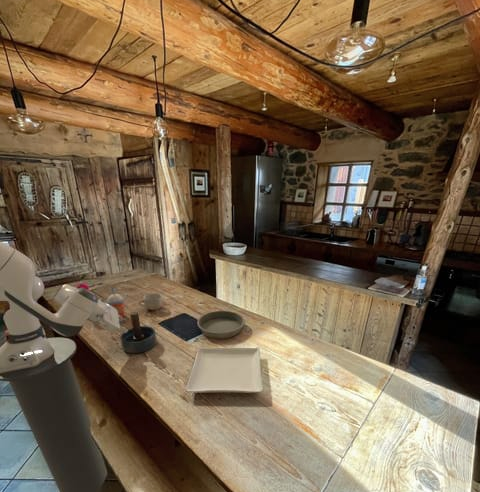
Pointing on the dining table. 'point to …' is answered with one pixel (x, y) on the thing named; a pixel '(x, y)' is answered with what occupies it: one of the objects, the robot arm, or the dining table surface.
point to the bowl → (139, 346)
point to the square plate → (226, 371)
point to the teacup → (152, 301)
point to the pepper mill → (83, 286)
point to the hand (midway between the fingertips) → (126, 326)
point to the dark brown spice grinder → (136, 327)
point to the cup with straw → (116, 302)
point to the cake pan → (220, 324)
